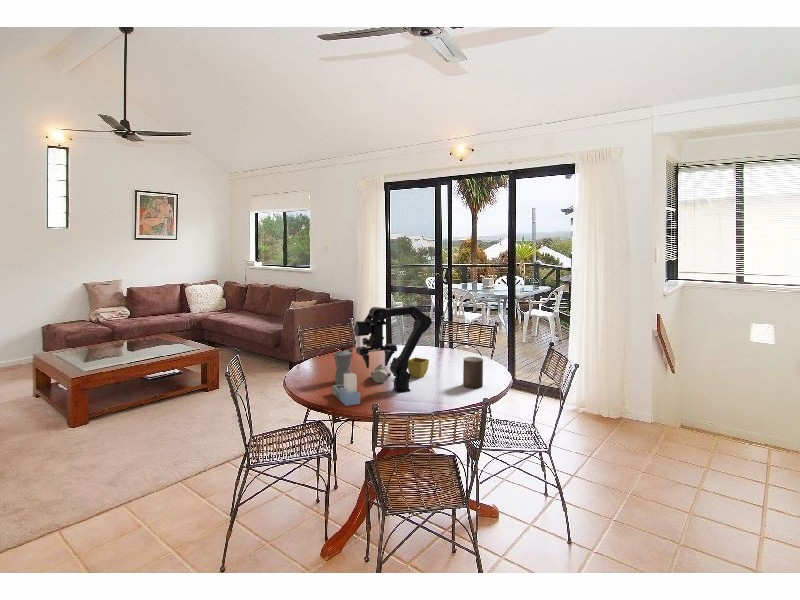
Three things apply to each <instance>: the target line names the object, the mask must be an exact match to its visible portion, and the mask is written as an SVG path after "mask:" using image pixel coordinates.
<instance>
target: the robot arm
mask: <svg viewBox="0 0 800 600" xmlns="http://www.w3.org/2000/svg"><path fill="white" fill-rule="evenodd" d="M406 315H408V316H410V317H411V318H412V320H414V322H413V326H412V327H413V328H412V332H411V333H410V335H409V337H408V339H407V340H406V343H405V345H404V346H403V349H402V350H401V352H400V355H399V356H398V357H393V358H392V356H393V354H395V352H398V347H397V345H396V344H394V343H385V344H384V339H385V337H384V326H386V325H388V322H386V320H387V319H388V318H392V317H400V316H406ZM432 323H433V321H432V318H431V317H430V316H429V315H426V314H425V313H424V312H422V310H420V309H419V308H418V307H417V306H415V305H412V304H411V305H407V306H406V305H405V306H398V307H396V306H395V307H379V306H373V307H371V308H370V309H369V311H368V314H367V316H365V318H364V320H362V321H360V320H357V321H355V324H354V327H353V332H354V333H353V334H354V336H355V337H363V338H362V342H361V343H362V345H363V346H362V345H361V346H357V348H356V349H355V353H356V354H357V355H359V356H360V357H362V358H363V362H365V363H364V364H365V366H366V369H370V368H369V367H370V354H369V353H371V352H381V351H383V352H384V367H387V366H388V363H389V361H390V360H391V358H392V361H391V363H389V371H390V373H391V374H392V375H393V376H394V380H393V388H392V390H394V391H395V392H397V393H406V392H411V389H410V380H411V377H412V376H411V375H410V373H409V371H408V361H409V360H410V358H411V356H412V355H413V353H414V351H415V349H416V347H417V345H418V343H419V341H420V339H421V336H422V335H423V334H424V333H425V332H427V331H428V330H429V328H430V327H431V325H432ZM364 336H369V338H368V337H364Z"/></svg>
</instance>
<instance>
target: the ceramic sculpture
mask: <svg viewBox="0 0 800 600" xmlns="http://www.w3.org/2000/svg"><path fill="white" fill-rule="evenodd" d="M370 375H371V377H372V379H373V382H374V383H377V384H382V383H385V382H386V381H387V379H388V378H389V377H391V375H392V372H391V371H390V372H389V371H388V370H387V368H386V366H385V365H384V366H383V365H382V364H379V365H378V366H376V367H375V369H374V370H373V371H372V372H370Z"/></svg>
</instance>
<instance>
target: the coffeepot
mask: <svg viewBox="0 0 800 600" xmlns="http://www.w3.org/2000/svg"><path fill="white" fill-rule="evenodd" d="M352 354H353V352H352V349H350V348H348V349H345V347H341V350H340V351H335V352H333V356H334V364H335V367H336V371H335V377H334V378H335V379H334V384H335V385H339V384H344V374H347V373H352V372H351V369H350V367H351V362H352V361H351V360H352V356H353V355H352Z"/></svg>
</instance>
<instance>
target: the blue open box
mask: <svg viewBox="0 0 800 600" xmlns="http://www.w3.org/2000/svg"><path fill="white" fill-rule="evenodd" d="M340 388H343V389H344V384H333V385H332V388H331V389H332V390H331V391H332V395H333V396H335V397H336V398H337V399H338V400H339V401H340Z"/></svg>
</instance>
